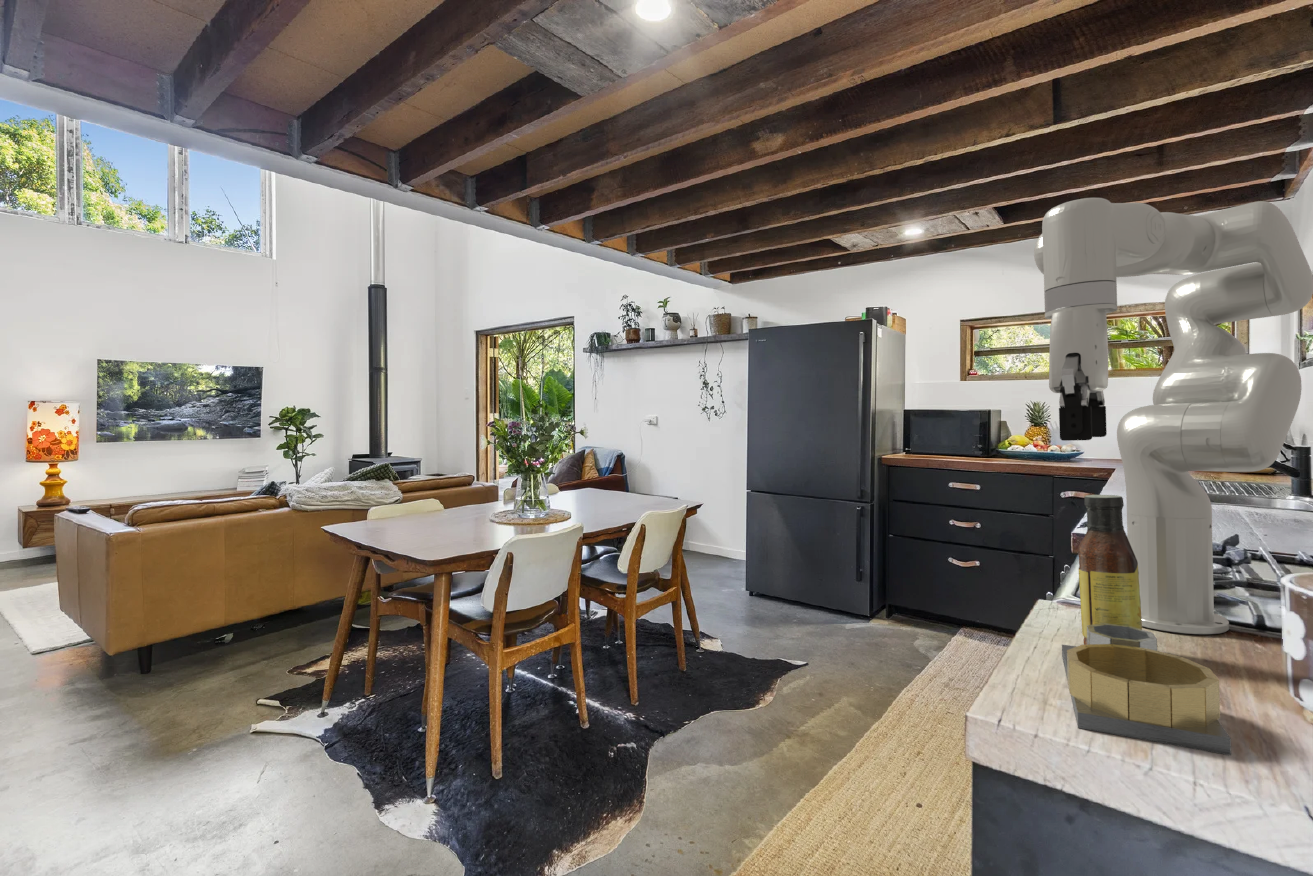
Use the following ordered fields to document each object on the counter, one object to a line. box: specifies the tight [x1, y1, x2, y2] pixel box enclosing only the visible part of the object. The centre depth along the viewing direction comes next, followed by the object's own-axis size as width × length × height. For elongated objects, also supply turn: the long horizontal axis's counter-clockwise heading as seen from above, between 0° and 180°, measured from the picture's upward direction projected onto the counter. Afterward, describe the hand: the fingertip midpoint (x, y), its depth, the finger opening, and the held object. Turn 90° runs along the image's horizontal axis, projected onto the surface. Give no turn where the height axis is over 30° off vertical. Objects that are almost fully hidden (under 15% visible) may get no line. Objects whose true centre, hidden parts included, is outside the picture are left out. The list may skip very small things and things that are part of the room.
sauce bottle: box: [1077, 494, 1143, 645], centre depth 79 cm, size 6×6×20 cm
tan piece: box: [1061, 623, 1232, 756], centre depth 65 cm, size 21×12×5 cm, turn 150°
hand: (1084, 438), depth 78 cm, fingers open, 9 cm apart
